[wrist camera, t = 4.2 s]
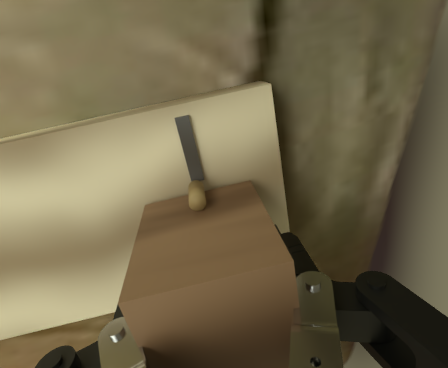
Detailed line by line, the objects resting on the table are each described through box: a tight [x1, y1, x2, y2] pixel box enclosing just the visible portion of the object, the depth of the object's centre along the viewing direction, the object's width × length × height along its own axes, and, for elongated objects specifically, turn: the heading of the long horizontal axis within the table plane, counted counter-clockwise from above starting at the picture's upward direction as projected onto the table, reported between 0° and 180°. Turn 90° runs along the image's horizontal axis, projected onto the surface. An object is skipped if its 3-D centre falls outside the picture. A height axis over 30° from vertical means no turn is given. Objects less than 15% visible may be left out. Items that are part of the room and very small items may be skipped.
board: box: [0, 81, 290, 340], centre depth 15 cm, size 10×28×2 cm, turn 101°
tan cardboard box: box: [118, 180, 299, 368], centre depth 13 cm, size 8×5×7 cm, turn 11°
